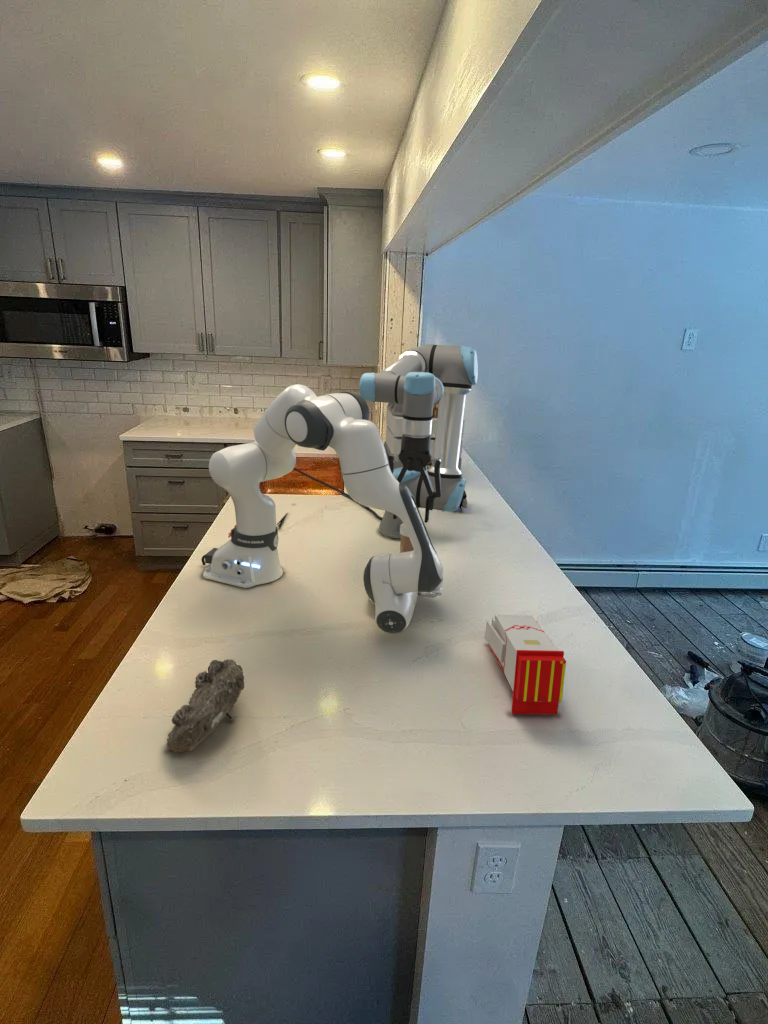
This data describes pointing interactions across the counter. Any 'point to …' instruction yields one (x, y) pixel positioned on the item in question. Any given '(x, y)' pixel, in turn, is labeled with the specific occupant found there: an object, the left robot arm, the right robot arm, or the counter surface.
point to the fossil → (206, 705)
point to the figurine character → (463, 501)
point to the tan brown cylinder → (405, 544)
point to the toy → (527, 663)
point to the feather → (281, 520)
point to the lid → (403, 530)
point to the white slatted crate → (395, 433)
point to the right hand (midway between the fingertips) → (411, 519)
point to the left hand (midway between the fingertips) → (408, 568)
